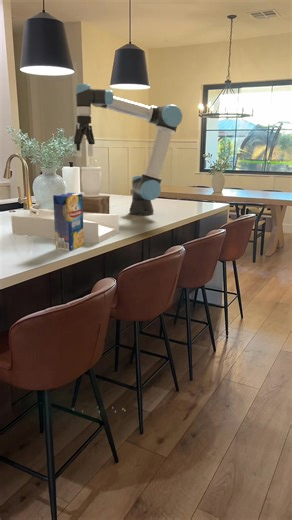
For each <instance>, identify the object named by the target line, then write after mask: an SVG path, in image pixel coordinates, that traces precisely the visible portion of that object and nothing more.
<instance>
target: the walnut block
mask: <svg viewBox="0 0 292 520" xmlns="http://www.w3.org/2000/svg"><path fill="white" fill-rule="evenodd" d="M82 197H83V212H86V213H99V214H110V197H111V196H109V195H100V197H95V198H89V197H84V194H82Z"/></svg>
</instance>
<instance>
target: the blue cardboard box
mask: <svg viewBox="0 0 292 520" xmlns="http://www.w3.org/2000/svg"><path fill="white" fill-rule="evenodd" d="M82 195H83V193H81V192H79V193H76V192H63V193H59V194H53V196H52V197H53V200H52V201H53V210H54V221H55V239H54V240H55V250H59V249H62V250H61V251H66V250H69V251H68V252H71V251H74V250H76V249H78V248H80V246H81V247H83V246H85V242H84V232H83V197H82ZM73 249H74V250H73Z"/></svg>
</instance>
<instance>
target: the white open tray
mask: <svg viewBox="0 0 292 520" xmlns="http://www.w3.org/2000/svg"><path fill="white" fill-rule="evenodd" d="M37 213H38V215H11V217H10V218H11V230H12V233H11V234H12V235H13V234H17V235H16V236H22V235H27V236H26V237H32V236H36V237H35V238H42V237H46V238H45V239H51V238H55V221H54V209H46V208H45V209H44V208H38V211H37ZM119 216H120V215H119V214H110V213H109V214H99V213H86V212H83V232H84V243H92V244H93V243H94V244H100V243H102V242H105V241H106V240H108V239H111V238H112V237H114V236H116V235H118V234H119V231H120V229H119V227H120V226H119V224H120V223H119V222H120V221H119V219H120V217H119Z"/></svg>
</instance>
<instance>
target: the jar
mask: <svg viewBox="0 0 292 520" xmlns="http://www.w3.org/2000/svg"><path fill="white" fill-rule="evenodd" d="M80 170H81V175H80V179H81V186H82V191H83V193H84V194H83V195H84V197H89V198H95V197H100V196H101V195H100V192H101V190H102V189H101V188H102V178H103V177H102V172H101V170H102V167H101V166H81V167H80Z"/></svg>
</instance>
